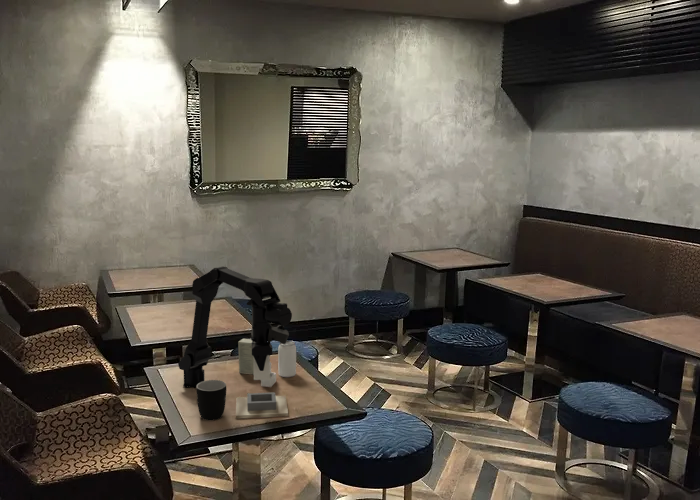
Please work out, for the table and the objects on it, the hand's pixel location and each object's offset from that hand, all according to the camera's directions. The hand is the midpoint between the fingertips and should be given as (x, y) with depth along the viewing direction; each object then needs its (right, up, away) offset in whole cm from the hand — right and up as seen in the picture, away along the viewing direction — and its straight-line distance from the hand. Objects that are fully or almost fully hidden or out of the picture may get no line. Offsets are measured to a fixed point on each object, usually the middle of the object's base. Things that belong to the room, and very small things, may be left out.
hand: (261, 368), depth 196 cm
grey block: (0, -3, 0) cm, 3 cm away
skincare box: (-10, -8, +33) cm, 36 cm away
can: (+5, -9, +32) cm, 33 cm away
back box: (0, -13, +2) cm, 13 cm away
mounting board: (0, -13, +2) cm, 13 cm away
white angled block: (-1, -10, +23) cm, 25 cm away
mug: (-15, -14, -4) cm, 21 cm away
